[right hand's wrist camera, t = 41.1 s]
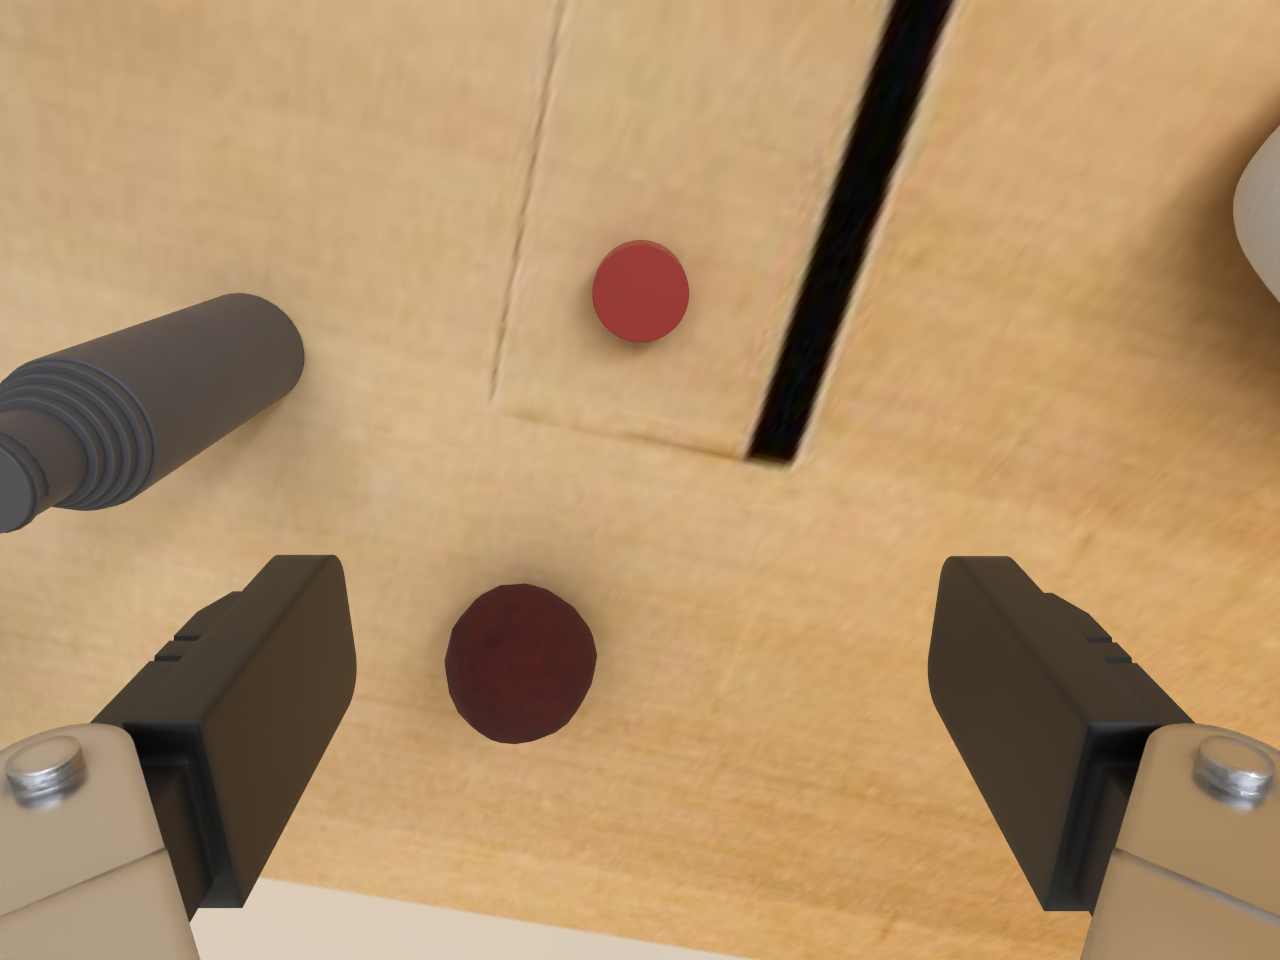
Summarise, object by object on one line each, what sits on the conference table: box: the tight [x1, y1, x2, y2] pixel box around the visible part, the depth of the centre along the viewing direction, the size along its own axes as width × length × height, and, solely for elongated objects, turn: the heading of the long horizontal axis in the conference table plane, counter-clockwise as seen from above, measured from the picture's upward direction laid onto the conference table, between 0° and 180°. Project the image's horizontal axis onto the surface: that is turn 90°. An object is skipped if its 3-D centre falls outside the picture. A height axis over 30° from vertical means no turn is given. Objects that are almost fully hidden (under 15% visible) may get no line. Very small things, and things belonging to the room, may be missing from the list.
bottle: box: [0, 293, 304, 533], centre depth 31 cm, size 5×5×17 cm
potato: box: [445, 584, 597, 744], centre depth 41 cm, size 7×8×7 cm
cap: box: [593, 240, 689, 342], centre depth 37 cm, size 4×4×2 cm
